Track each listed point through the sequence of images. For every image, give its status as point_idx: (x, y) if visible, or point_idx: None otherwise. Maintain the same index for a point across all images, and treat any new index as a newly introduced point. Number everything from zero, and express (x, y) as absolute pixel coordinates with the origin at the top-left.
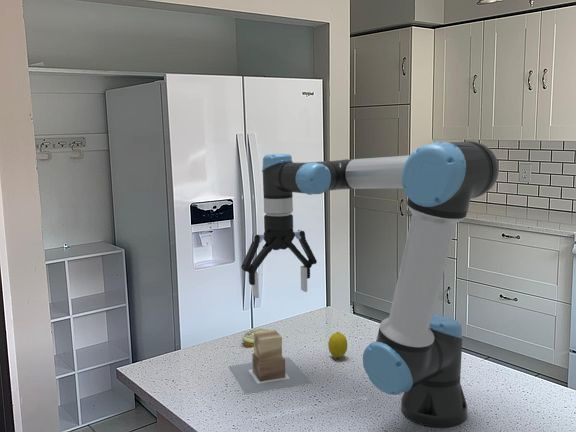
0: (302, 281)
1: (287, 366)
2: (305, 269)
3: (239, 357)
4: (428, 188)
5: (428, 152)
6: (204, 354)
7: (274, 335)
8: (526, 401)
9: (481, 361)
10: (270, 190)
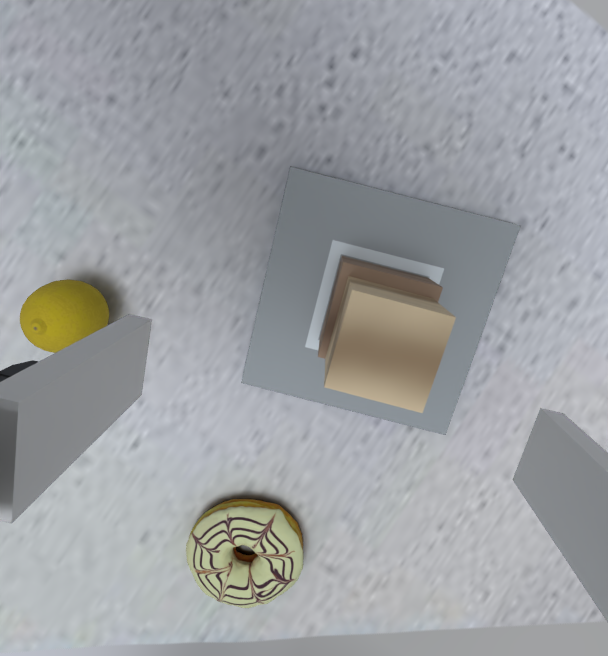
0: (110, 390)
1: (287, 324)
2: (17, 388)
3: (360, 489)
4: None
5: None
6: (437, 566)
7: (368, 326)
8: None
9: None
10: None
